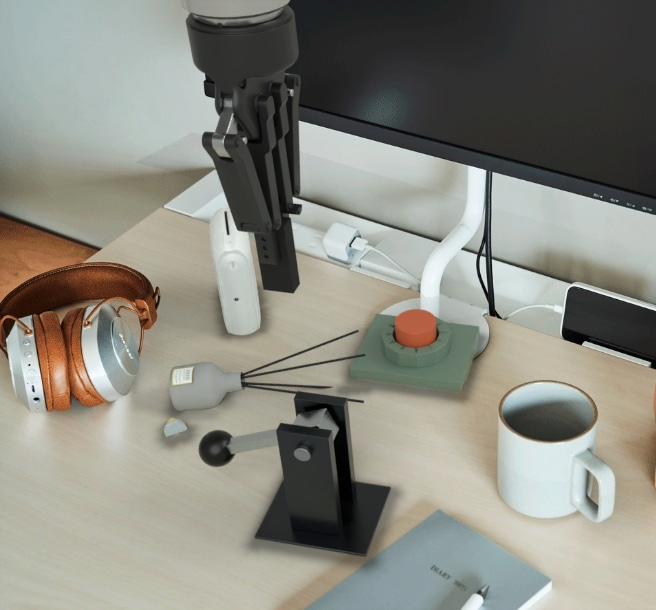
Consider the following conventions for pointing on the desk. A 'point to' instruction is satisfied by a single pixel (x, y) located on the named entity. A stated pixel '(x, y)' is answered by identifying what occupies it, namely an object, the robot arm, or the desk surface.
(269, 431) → the tap lever
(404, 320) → the button
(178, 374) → the reed diffuser
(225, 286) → the photo printer
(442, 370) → the button block
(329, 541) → the bracket
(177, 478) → the desk surface
